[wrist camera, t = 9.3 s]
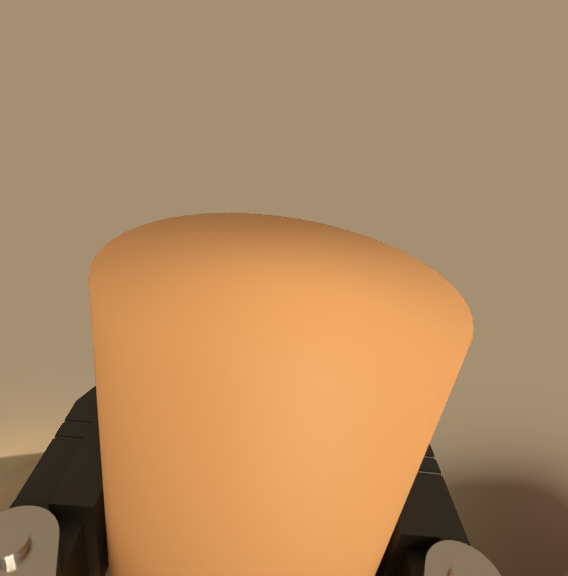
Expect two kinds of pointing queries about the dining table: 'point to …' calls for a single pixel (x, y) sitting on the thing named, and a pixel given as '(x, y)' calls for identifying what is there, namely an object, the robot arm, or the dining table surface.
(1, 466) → the dining table surface
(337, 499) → the rounded orange object
